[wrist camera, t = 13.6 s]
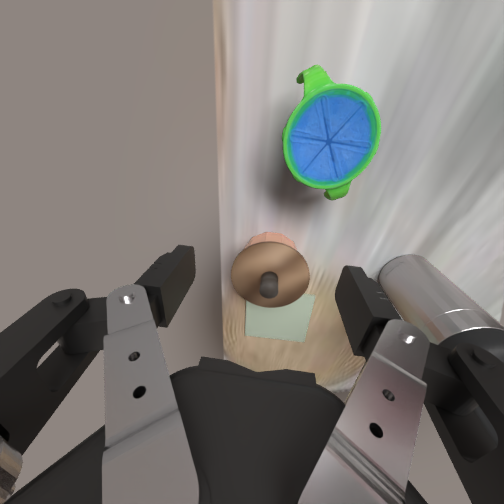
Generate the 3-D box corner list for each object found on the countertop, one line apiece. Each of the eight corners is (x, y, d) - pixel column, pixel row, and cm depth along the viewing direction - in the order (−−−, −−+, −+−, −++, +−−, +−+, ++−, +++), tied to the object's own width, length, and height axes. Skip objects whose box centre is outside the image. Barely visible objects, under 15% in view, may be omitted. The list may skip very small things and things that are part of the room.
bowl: (309, 253, 42) (314, 271, 37) (275, 287, 47) (275, 308, 42) (264, 221, 40) (262, 236, 35) (234, 261, 45) (227, 279, 40)
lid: (326, 270, 36) (331, 286, 33) (276, 315, 43) (276, 333, 39) (260, 225, 34) (258, 237, 30) (218, 280, 40) (212, 295, 36)
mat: (303, 340, 55) (304, 342, 54) (245, 333, 56) (244, 335, 55) (314, 294, 47) (315, 296, 47) (247, 287, 48) (246, 289, 48)
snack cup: (271, 90, 30) (268, 73, 22) (350, 62, 28) (382, 30, 19) (291, 197, 37) (295, 217, 29) (355, 181, 35) (381, 198, 26)
